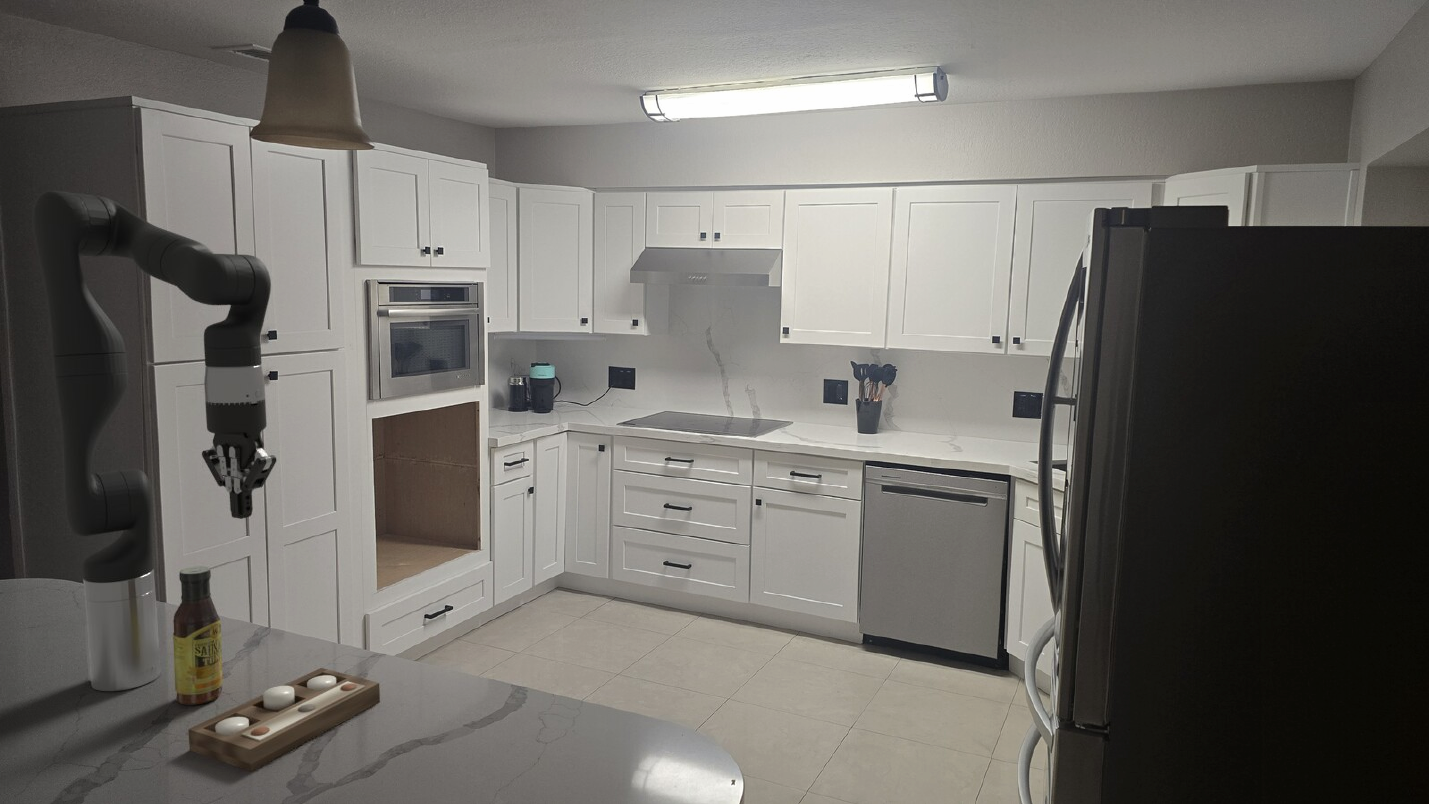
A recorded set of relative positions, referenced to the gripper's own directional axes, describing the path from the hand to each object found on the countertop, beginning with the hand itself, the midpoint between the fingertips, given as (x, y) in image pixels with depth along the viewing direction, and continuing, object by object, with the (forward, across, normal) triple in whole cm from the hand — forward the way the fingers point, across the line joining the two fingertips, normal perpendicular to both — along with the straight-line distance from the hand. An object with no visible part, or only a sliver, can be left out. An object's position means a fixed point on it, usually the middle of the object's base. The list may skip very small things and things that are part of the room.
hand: (242, 516), depth 131 cm
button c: (+28, +7, -8) cm, 30 cm away
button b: (+26, +7, -1) cm, 27 cm away
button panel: (+29, +9, -1) cm, 30 cm away
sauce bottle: (+29, -10, -1) cm, 31 cm away
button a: (+28, +7, +7) cm, 29 cm away
